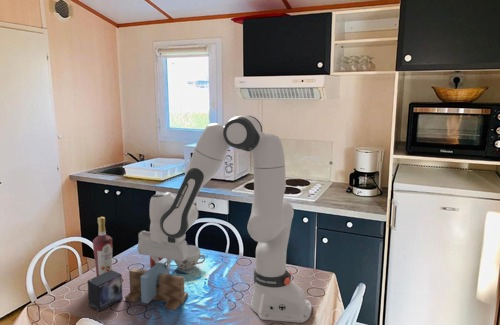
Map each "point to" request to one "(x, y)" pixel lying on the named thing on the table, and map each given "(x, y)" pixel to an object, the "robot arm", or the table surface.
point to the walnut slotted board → (159, 288)
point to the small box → (104, 290)
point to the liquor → (102, 249)
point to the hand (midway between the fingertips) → (162, 267)
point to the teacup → (190, 258)
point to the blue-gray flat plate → (152, 280)
